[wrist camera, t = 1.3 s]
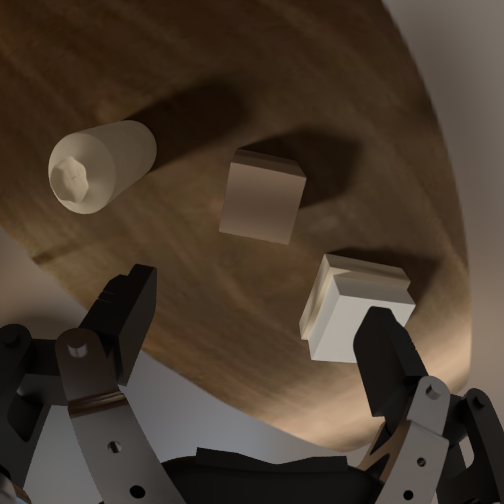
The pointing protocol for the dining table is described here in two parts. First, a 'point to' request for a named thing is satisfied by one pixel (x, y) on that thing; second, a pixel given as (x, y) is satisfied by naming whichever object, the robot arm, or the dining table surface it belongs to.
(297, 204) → the walnut block
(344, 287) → the slab upper
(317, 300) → the slab lower
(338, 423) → the dining table surface
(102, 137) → the candle
